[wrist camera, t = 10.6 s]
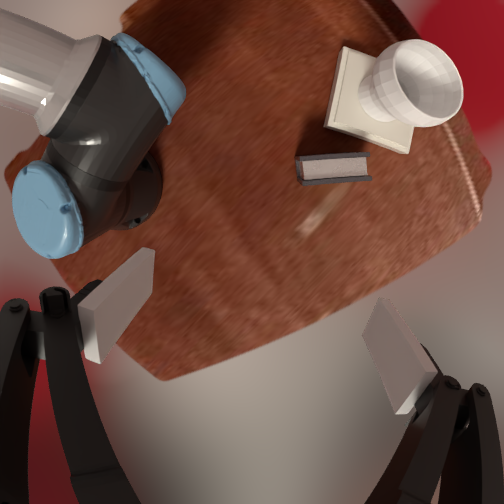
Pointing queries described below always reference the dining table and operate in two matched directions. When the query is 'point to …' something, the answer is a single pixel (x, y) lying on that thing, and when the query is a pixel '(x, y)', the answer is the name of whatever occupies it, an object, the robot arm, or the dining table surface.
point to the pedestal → (351, 112)
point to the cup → (412, 85)
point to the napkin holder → (332, 168)
